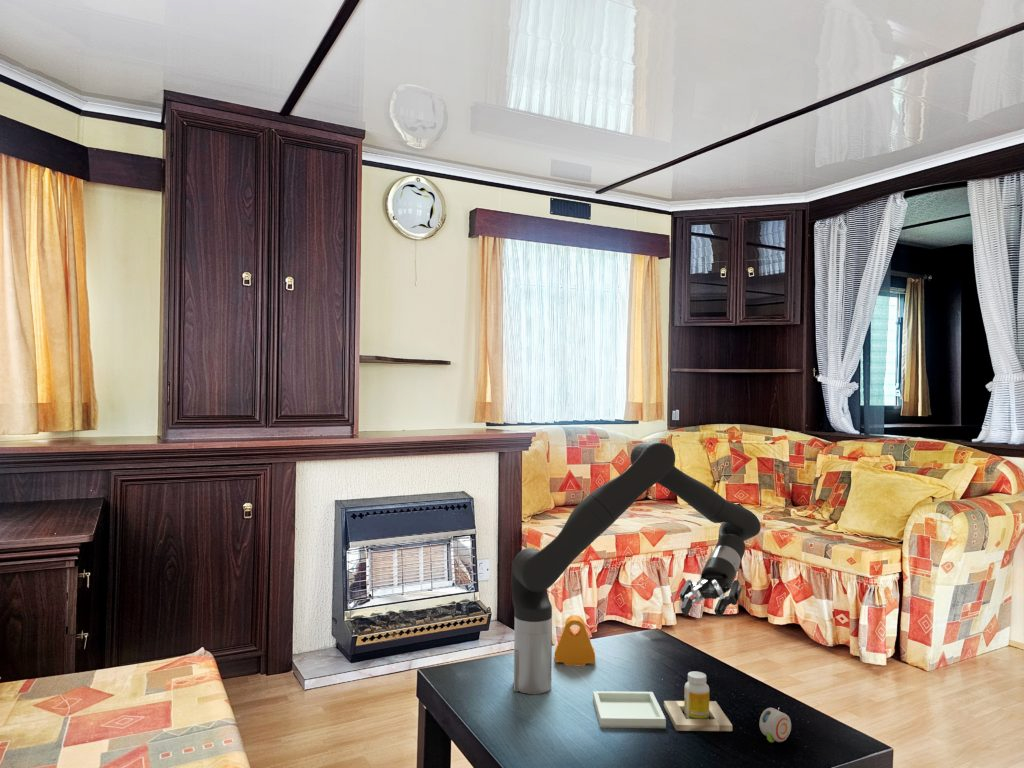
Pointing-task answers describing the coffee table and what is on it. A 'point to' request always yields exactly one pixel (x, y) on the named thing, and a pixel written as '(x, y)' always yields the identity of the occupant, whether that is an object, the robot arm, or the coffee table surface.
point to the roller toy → (775, 725)
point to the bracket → (574, 644)
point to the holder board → (682, 724)
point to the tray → (628, 710)
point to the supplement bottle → (696, 696)
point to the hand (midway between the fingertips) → (700, 613)
